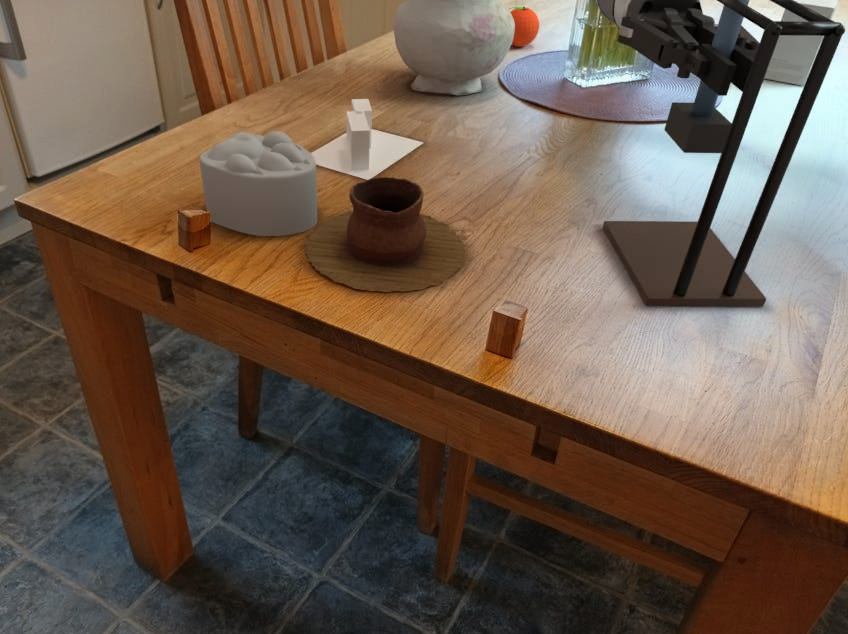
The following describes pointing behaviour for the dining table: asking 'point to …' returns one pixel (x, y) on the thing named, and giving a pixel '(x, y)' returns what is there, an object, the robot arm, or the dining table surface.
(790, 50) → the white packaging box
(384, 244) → the ceramic pot
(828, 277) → the dining table surface
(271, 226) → the lumpy-topped squat cylinder
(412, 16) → the grey round vase
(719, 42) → the brush
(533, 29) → the clementine
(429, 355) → the dining table surface
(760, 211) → the desk lamp
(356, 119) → the napkin holder
